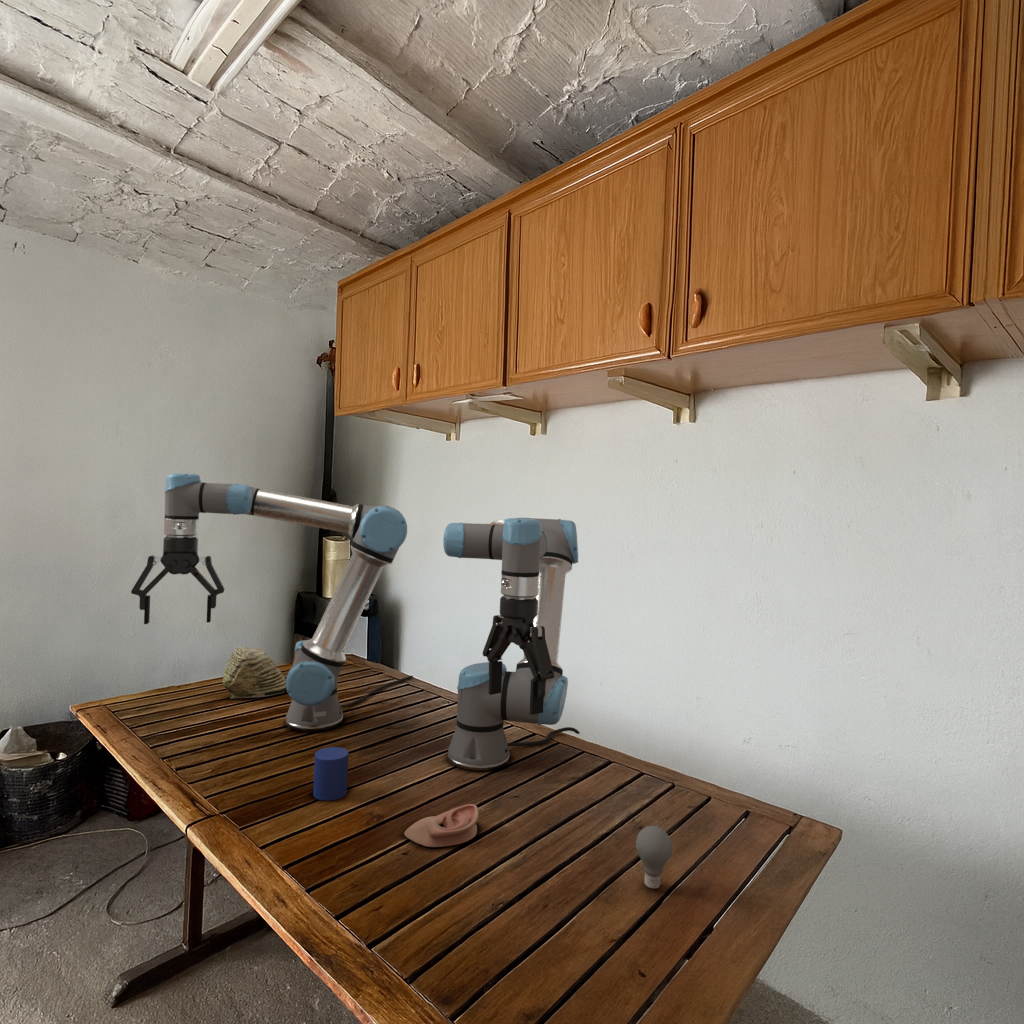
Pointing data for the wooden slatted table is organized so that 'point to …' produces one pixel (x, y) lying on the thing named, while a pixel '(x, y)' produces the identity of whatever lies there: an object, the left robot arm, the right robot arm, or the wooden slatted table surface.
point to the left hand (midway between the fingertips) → (178, 622)
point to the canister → (330, 773)
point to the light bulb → (653, 853)
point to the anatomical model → (445, 827)
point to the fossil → (252, 674)
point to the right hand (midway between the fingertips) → (514, 703)
